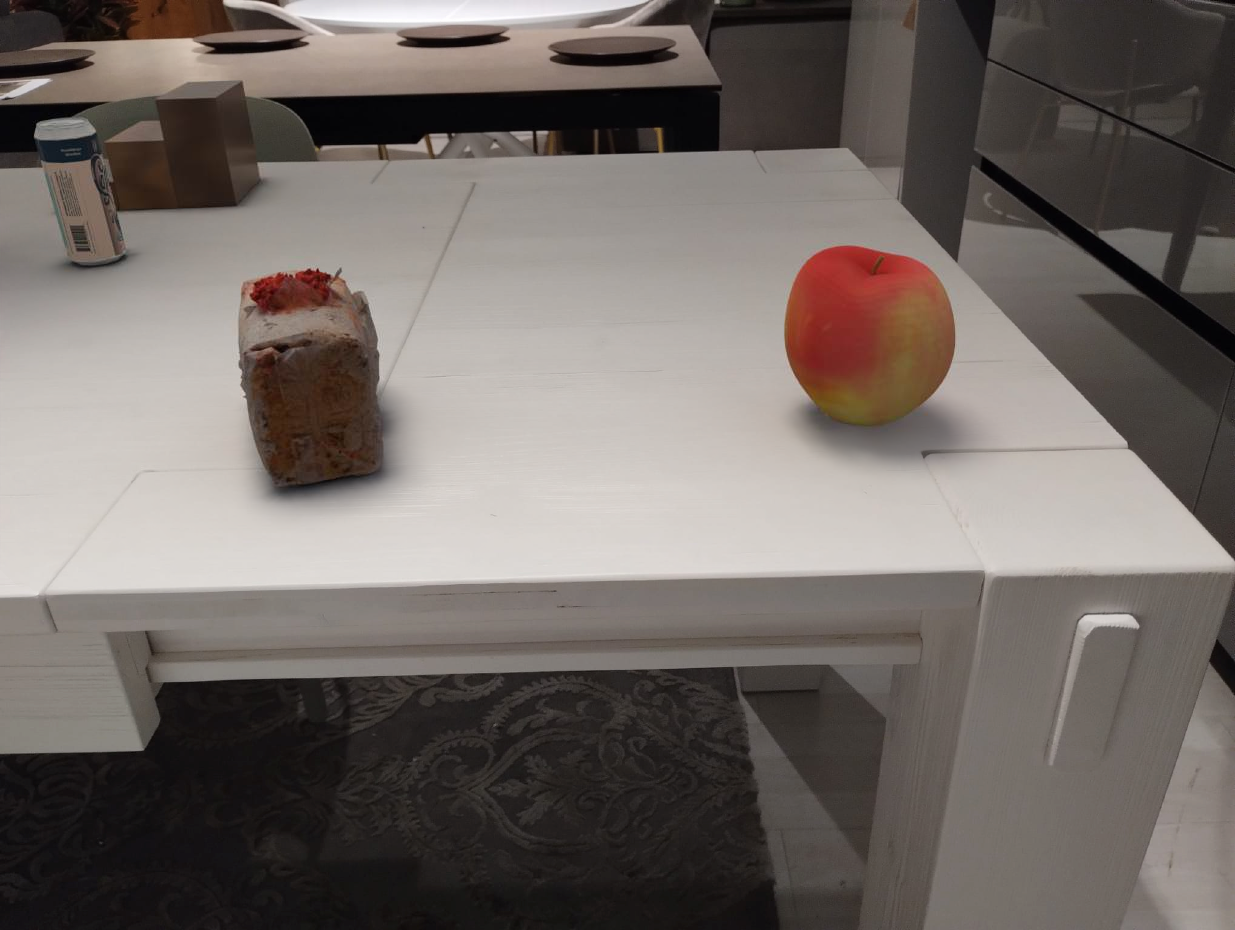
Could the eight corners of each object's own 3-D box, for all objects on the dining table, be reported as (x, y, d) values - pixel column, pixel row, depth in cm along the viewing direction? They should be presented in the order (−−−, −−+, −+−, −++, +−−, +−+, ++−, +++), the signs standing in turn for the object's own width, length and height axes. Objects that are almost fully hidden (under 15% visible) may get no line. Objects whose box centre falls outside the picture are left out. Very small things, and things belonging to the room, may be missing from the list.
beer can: (136, 258, 92) (102, 120, 86) (82, 271, 89) (43, 129, 83) (114, 248, 95) (79, 114, 89) (61, 260, 92) (21, 122, 86)
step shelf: (61, 212, 107) (30, 103, 101) (101, 185, 117) (75, 85, 112) (236, 205, 108) (215, 97, 103) (260, 179, 118) (242, 80, 113)
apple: (770, 445, 58) (781, 276, 53) (784, 379, 66) (795, 227, 61) (945, 461, 56) (973, 287, 51) (937, 390, 64) (961, 235, 59)
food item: (249, 397, 65) (218, 246, 60) (375, 378, 67) (354, 231, 62) (259, 498, 54) (221, 322, 49) (410, 471, 56) (388, 300, 51)
